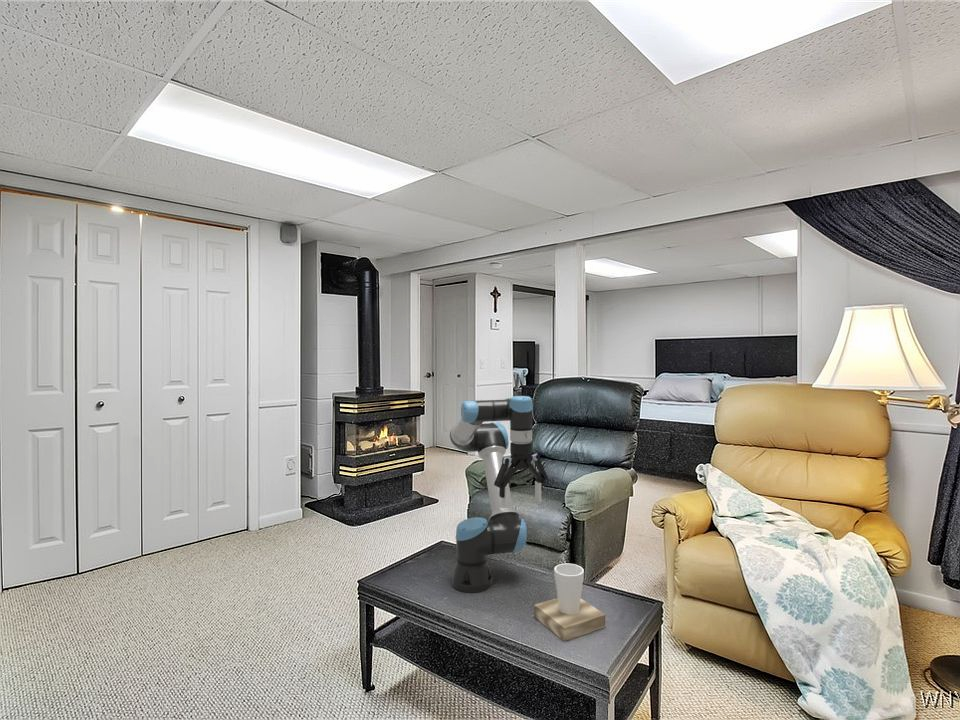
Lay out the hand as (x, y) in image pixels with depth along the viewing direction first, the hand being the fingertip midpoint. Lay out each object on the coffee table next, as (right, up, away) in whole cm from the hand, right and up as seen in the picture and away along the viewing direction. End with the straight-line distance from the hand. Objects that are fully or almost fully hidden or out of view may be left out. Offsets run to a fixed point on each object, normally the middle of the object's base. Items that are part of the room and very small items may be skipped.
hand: (521, 503), depth 178 cm
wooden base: (+14, -35, -11) cm, 39 cm away
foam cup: (+14, -31, -11) cm, 36 cm away
